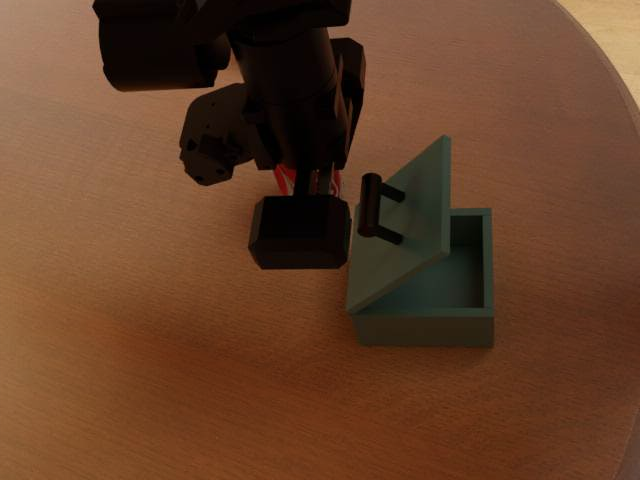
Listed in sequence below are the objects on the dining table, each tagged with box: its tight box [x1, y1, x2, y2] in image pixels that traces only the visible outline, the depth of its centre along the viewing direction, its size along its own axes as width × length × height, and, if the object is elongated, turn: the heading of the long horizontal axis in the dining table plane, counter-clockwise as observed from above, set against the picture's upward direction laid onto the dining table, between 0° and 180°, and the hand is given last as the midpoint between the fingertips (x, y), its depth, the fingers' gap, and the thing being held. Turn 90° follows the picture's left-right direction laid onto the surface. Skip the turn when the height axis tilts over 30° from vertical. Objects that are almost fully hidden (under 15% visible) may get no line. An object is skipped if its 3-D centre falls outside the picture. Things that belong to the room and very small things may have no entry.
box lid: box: [344, 133, 452, 315], centre depth 59 cm, size 12×11×5 cm
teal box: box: [349, 207, 495, 348], centre depth 66 cm, size 12×11×6 cm
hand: (332, 214), depth 59 cm, fingers open, 9 cm apart
